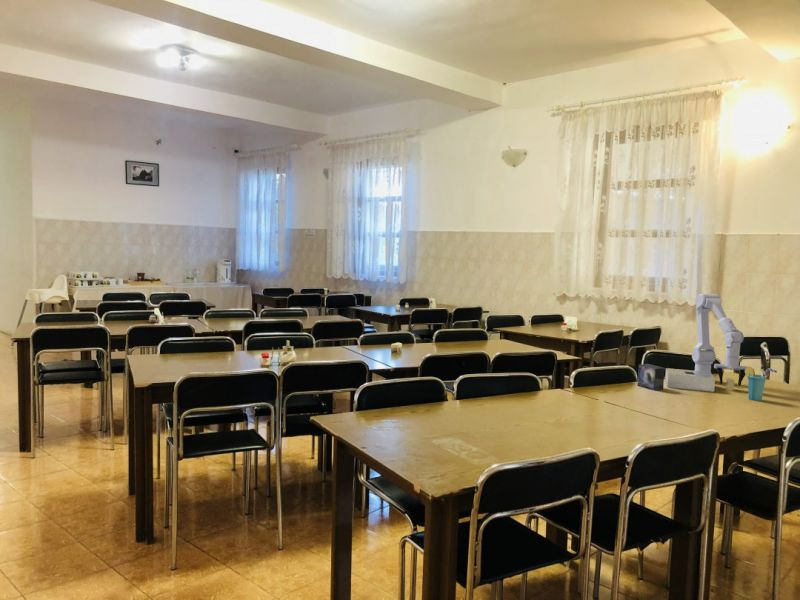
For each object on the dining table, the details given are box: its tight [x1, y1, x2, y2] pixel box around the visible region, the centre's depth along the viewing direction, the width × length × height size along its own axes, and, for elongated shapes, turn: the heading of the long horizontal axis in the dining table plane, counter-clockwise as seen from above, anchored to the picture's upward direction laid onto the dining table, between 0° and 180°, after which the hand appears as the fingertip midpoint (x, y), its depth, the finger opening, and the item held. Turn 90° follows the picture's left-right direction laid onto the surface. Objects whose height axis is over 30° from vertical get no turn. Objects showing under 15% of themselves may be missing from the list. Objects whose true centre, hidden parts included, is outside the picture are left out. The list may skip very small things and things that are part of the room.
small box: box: [636, 363, 666, 391], centre depth 292 cm, size 11×6×10 cm, turn 25°
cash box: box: [664, 367, 716, 393], centre depth 298 cm, size 16×20×6 cm
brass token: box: [725, 377, 735, 392], centre depth 294 cm, size 5×2×5 cm, turn 161°
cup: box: [745, 366, 778, 402], centre depth 273 cm, size 14×8×15 cm, turn 34°
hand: (730, 384), depth 294 cm, fingers open, 7 cm apart
